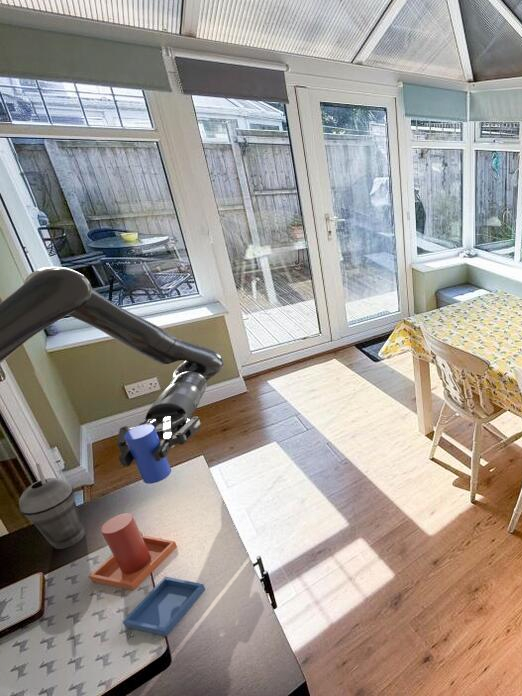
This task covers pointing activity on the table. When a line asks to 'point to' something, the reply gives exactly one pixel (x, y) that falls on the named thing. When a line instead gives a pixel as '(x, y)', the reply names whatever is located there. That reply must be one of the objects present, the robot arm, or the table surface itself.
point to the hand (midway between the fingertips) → (141, 459)
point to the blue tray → (164, 606)
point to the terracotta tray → (114, 577)
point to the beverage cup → (53, 510)
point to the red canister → (126, 543)
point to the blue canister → (147, 453)
